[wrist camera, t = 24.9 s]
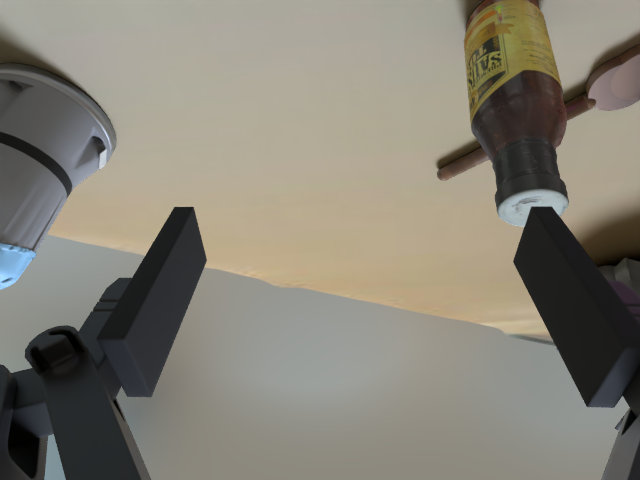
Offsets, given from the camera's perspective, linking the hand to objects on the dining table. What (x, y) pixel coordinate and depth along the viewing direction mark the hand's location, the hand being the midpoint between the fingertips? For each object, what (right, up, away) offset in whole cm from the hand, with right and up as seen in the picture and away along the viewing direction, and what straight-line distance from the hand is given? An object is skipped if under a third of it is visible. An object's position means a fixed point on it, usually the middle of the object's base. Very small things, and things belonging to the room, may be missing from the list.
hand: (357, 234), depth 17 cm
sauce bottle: (+14, +19, +19) cm, 30 cm away
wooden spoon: (+22, +13, +27) cm, 37 cm away
